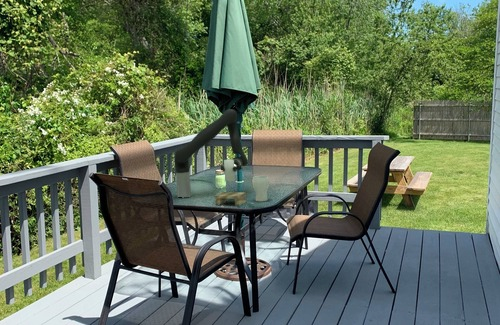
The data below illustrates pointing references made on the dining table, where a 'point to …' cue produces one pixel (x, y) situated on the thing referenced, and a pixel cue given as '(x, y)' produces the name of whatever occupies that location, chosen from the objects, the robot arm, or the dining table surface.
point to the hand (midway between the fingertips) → (228, 169)
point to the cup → (261, 187)
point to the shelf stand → (231, 197)
